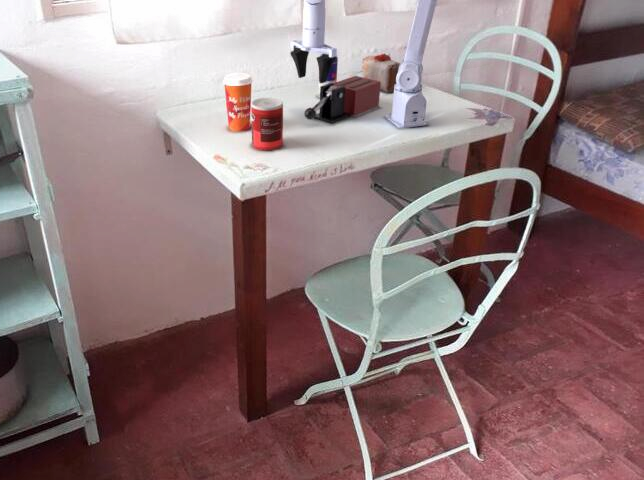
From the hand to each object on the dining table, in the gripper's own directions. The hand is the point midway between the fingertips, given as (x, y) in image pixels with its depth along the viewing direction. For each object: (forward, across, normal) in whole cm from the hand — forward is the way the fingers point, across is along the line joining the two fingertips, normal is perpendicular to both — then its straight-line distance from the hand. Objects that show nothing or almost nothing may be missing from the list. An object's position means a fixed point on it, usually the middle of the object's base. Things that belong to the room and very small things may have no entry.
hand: (312, 79), depth 180 cm
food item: (+10, -1, +34) cm, 35 cm away
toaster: (+10, +6, +12) cm, 16 cm away
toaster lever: (+6, +6, -2) cm, 9 cm away
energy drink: (+10, -7, +15) cm, 20 cm away
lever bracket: (+10, +6, +2) cm, 12 cm away
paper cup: (+10, -7, -21) cm, 24 cm away
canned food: (+10, +7, -24) cm, 27 cm away
